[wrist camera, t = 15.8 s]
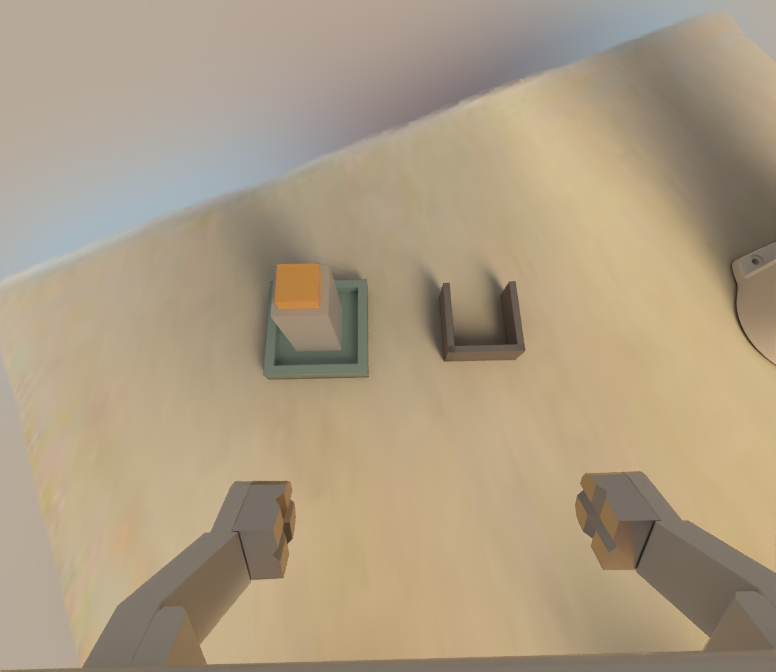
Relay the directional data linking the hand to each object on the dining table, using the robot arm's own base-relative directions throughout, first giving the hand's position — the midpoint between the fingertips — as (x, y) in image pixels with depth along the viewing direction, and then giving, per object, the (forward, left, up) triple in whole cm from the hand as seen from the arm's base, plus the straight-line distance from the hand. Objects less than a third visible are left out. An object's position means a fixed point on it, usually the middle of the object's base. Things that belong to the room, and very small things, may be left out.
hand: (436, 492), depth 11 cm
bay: (-17, -8, -31) cm, 37 cm away
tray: (-2, -18, -31) cm, 36 cm away
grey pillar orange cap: (-2, -18, -31) cm, 36 cm away
